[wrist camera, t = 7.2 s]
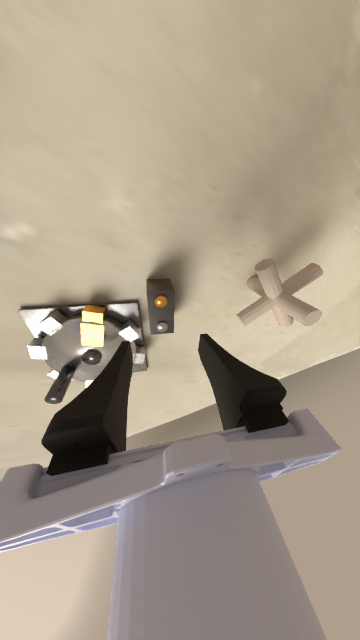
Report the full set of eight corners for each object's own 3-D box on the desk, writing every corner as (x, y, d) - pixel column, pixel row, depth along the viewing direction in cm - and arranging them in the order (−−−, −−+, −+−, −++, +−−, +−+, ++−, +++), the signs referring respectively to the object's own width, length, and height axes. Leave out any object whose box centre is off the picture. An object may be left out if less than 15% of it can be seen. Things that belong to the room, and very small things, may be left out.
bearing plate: (20, 308, 19) (17, 310, 18) (137, 301, 21) (137, 303, 21) (65, 379, 27) (63, 381, 26) (147, 368, 29) (147, 370, 28)
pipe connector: (237, 321, 27) (277, 367, 18) (208, 279, 21) (247, 317, 13) (291, 285, 24) (364, 319, 16) (274, 227, 19) (370, 235, 11)
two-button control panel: (146, 279, 20) (146, 292, 16) (169, 278, 20) (174, 291, 17) (150, 318, 23) (150, 336, 20) (169, 316, 24) (173, 334, 20)
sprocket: (8, 341, 20) (-38, 382, 15) (96, 284, 18) (77, 309, 13) (95, 389, 28) (84, 426, 23) (162, 353, 26) (166, 384, 21)
